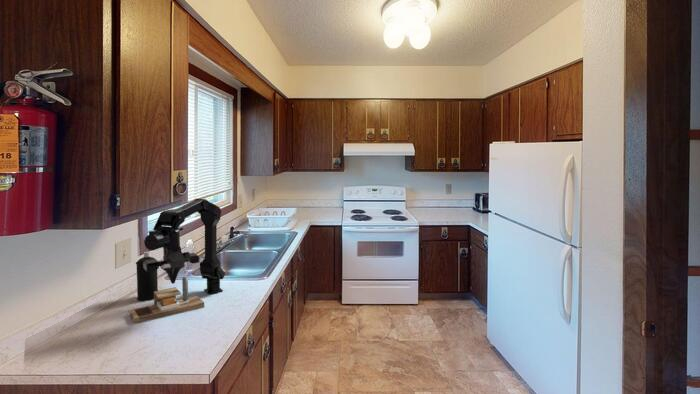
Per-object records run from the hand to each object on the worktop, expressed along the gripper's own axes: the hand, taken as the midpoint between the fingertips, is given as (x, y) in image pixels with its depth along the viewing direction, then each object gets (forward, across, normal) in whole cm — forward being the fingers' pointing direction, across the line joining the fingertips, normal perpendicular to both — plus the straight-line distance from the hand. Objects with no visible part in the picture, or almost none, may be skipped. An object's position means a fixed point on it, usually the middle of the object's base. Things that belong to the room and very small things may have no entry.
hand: (173, 283), depth 139 cm
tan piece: (+13, -1, +4) cm, 13 cm away
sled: (+11, +1, +4) cm, 11 cm away
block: (+11, -1, +4) cm, 12 cm away
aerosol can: (+13, -4, +24) cm, 28 cm away
